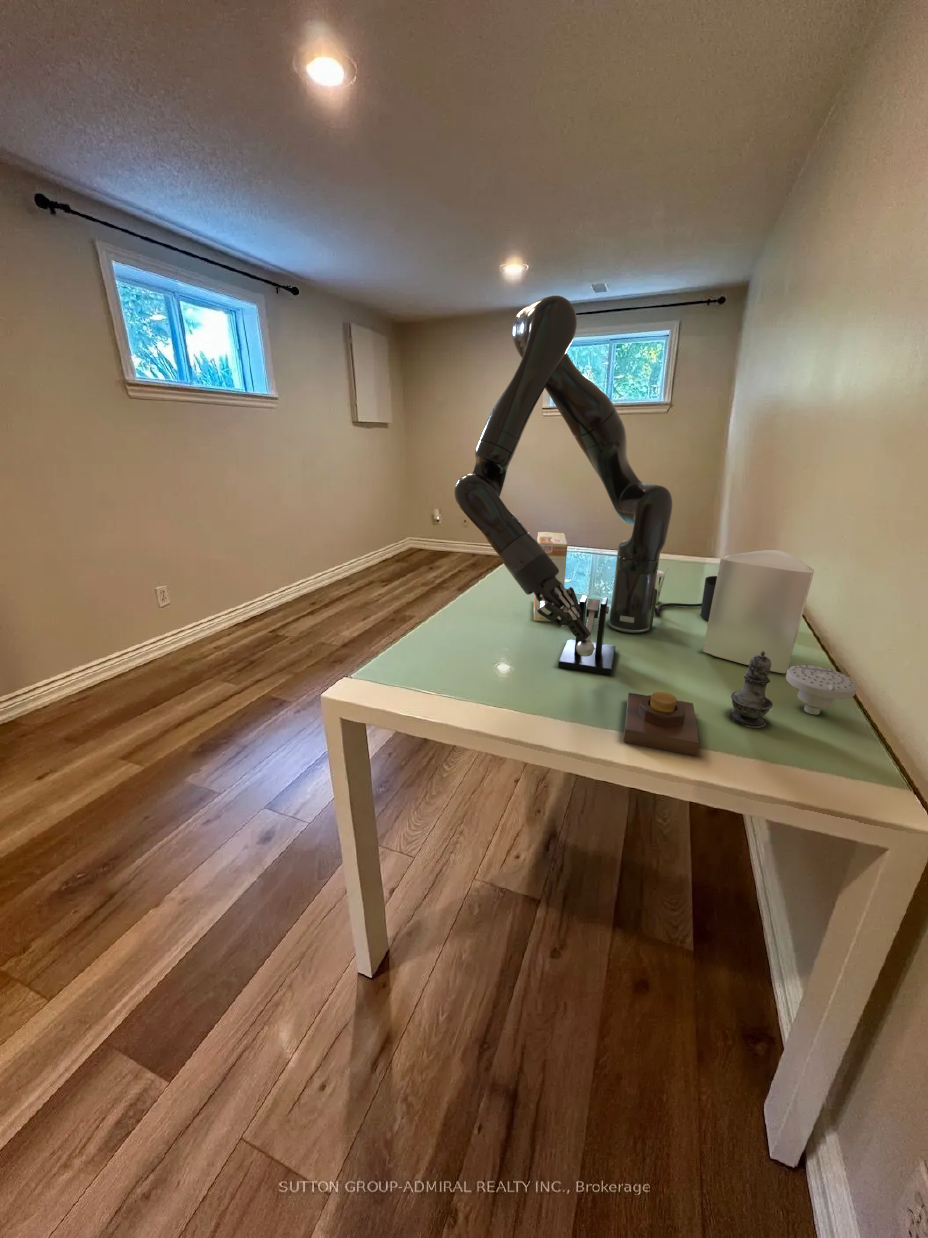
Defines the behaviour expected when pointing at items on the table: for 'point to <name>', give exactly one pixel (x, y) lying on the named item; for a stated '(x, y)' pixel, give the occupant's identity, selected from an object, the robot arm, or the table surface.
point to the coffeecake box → (557, 552)
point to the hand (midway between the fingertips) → (585, 638)
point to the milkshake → (659, 583)
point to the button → (663, 702)
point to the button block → (661, 726)
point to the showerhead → (819, 686)
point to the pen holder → (708, 596)
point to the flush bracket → (602, 653)
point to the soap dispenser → (758, 607)
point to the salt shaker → (753, 695)
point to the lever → (589, 628)
